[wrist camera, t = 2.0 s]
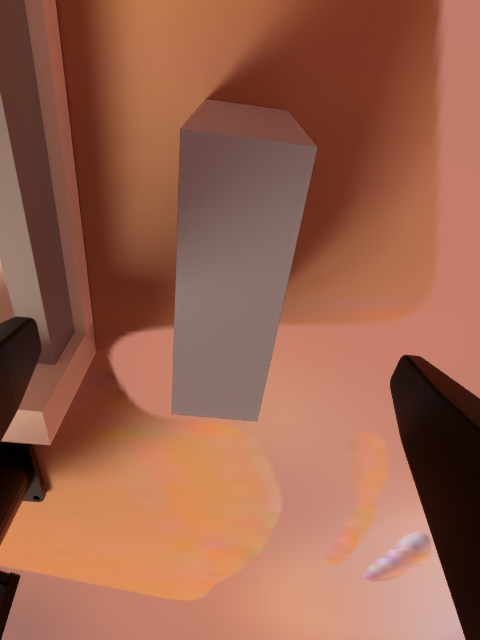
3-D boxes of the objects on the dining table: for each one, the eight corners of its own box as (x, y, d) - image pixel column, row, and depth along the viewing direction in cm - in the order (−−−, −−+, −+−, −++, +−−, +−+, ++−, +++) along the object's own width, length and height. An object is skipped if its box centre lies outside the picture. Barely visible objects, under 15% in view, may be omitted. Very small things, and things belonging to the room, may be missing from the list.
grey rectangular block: (254, 312, 19) (258, 421, 13) (192, 305, 19) (170, 414, 13) (288, 110, 14) (319, 147, 8) (204, 98, 14) (177, 128, 8)
